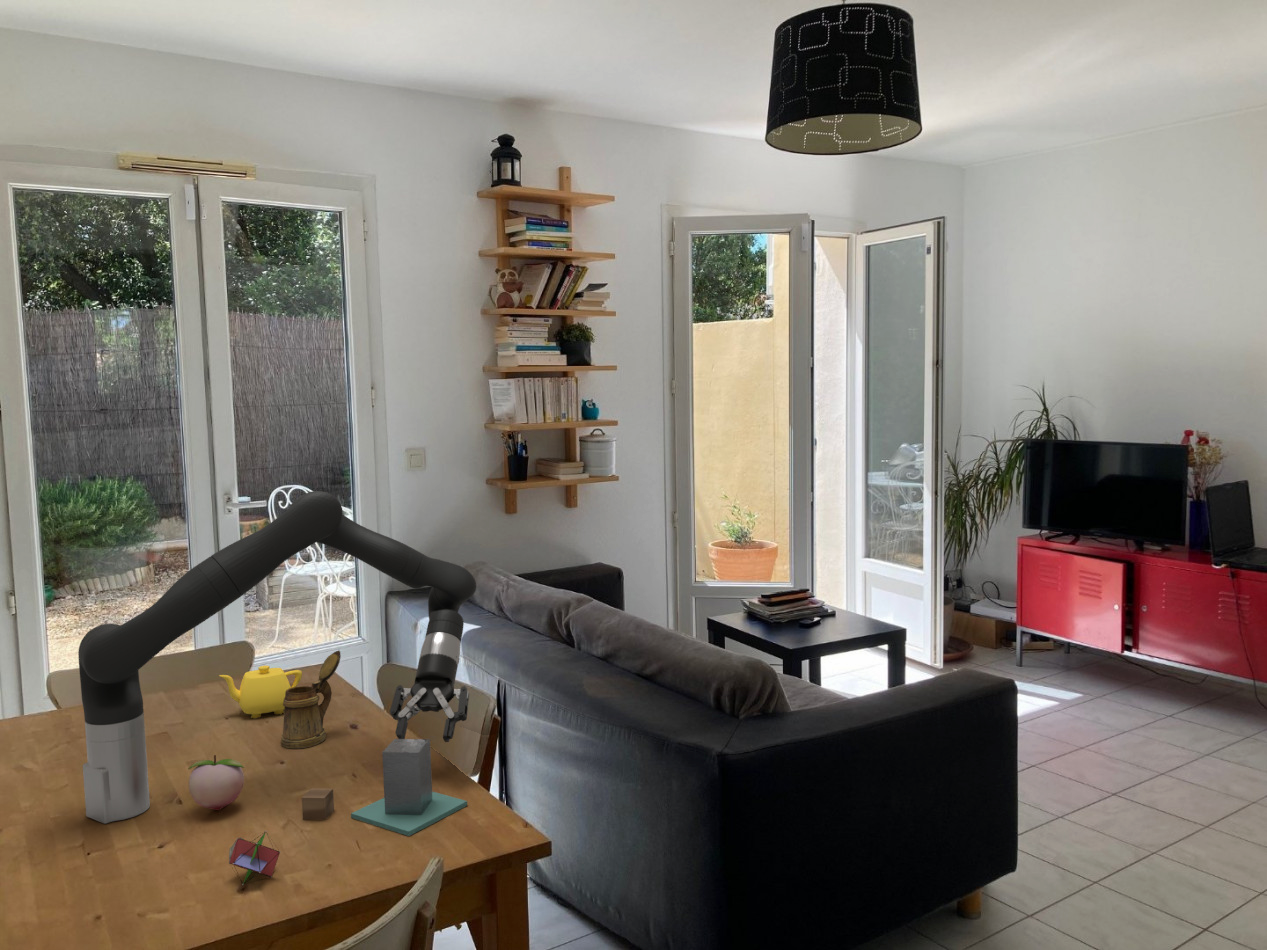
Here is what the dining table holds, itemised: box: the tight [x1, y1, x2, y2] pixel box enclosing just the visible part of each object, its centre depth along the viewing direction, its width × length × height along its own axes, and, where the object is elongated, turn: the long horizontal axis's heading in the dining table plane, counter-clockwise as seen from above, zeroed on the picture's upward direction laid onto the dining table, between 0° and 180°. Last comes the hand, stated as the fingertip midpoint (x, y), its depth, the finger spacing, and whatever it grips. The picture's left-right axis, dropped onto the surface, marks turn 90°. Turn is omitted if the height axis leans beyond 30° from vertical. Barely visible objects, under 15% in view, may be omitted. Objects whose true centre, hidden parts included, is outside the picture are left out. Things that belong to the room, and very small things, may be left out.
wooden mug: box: [280, 650, 342, 750], centre depth 211 cm, size 9×14×18 cm, turn 128°
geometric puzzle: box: [228, 830, 281, 886], centre depth 151 cm, size 7×7×8 cm
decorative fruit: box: [187, 754, 245, 811], centre depth 175 cm, size 9×8×10 cm
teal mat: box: [350, 790, 468, 837], centre depth 174 cm, size 14×14×1 cm
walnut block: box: [301, 787, 335, 821], centre depth 173 cm, size 4×4×4 cm
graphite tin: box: [381, 738, 433, 815], centre depth 173 cm, size 6×6×11 cm
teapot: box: [218, 665, 303, 719], centre depth 230 cm, size 18×11×11 cm, turn 116°
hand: (423, 739), depth 184 cm, fingers open, 8 cm apart
